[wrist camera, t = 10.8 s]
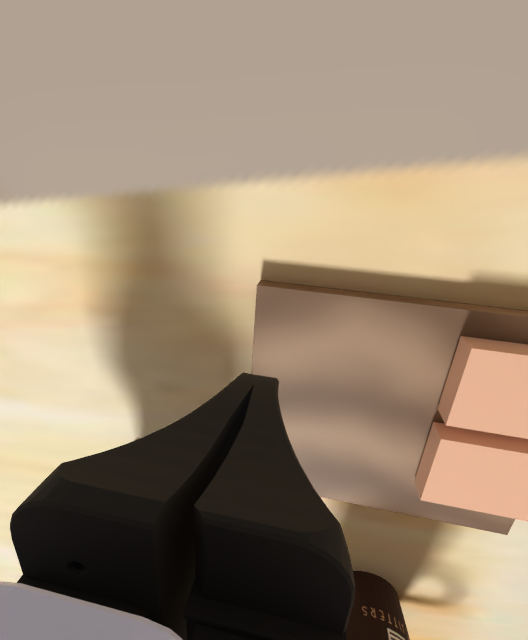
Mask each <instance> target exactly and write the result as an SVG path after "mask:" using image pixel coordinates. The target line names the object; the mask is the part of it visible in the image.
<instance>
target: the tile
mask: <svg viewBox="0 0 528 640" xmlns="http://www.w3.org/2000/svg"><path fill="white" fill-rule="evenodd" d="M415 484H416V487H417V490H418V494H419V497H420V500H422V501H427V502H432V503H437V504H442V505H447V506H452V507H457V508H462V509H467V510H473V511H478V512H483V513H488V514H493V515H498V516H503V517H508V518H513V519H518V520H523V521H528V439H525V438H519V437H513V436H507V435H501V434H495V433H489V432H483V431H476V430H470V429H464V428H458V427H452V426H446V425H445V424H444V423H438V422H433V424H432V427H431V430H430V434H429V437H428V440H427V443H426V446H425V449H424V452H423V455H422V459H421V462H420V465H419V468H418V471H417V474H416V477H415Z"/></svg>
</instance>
